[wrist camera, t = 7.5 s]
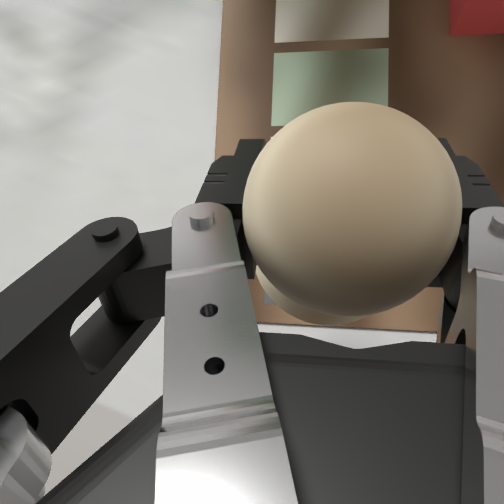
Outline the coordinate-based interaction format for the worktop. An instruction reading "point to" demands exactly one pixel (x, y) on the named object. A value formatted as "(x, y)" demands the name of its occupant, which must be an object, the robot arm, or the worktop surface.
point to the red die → (476, 17)
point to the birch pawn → (350, 212)
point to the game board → (361, 92)
